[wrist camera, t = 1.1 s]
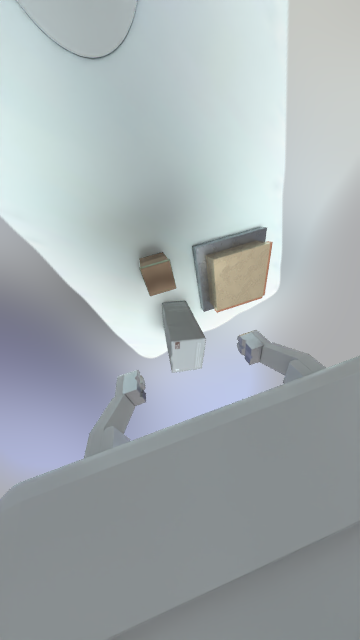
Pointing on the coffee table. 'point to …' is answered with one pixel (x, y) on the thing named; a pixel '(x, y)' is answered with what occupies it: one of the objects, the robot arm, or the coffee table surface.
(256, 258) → the stand
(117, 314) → the coffee table surface
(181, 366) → the skincare box
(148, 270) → the walnut column
